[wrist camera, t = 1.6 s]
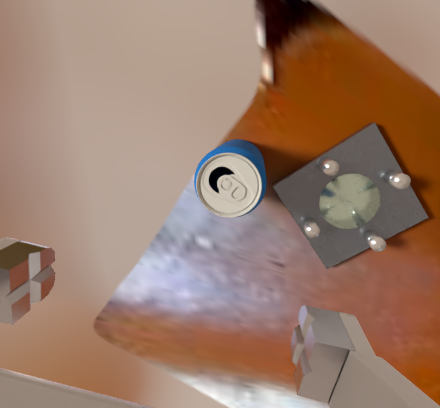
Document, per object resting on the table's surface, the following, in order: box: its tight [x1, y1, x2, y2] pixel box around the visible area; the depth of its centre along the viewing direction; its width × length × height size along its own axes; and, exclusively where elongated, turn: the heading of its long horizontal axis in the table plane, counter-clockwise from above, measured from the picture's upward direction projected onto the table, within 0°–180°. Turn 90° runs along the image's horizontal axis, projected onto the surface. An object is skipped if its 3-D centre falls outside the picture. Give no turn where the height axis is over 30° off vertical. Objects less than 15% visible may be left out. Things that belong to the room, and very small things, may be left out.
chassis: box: [272, 123, 429, 269], centre depth 33 cm, size 13×13×4 cm
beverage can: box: [194, 139, 267, 217], centre depth 30 cm, size 6×6×12 cm
